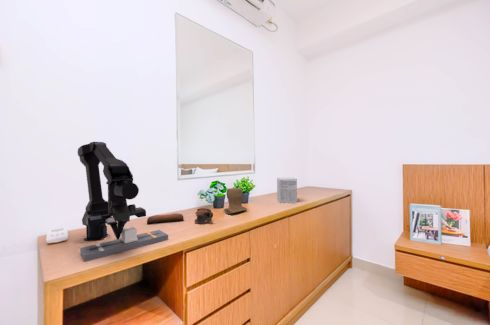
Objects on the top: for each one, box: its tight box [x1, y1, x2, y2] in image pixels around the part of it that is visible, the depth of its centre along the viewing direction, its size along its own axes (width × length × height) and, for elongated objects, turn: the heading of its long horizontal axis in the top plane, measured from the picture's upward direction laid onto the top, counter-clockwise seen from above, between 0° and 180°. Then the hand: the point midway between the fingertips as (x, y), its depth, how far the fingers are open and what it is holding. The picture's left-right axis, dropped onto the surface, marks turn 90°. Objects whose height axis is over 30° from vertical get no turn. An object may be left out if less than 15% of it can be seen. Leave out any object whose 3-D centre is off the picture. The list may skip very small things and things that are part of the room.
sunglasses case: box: [146, 212, 184, 225], centre depth 119 cm, size 18×7×7 cm
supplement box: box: [276, 177, 298, 204], centre depth 171 cm, size 13×13×18 cm
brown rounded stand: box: [223, 187, 248, 215], centre depth 138 cm, size 15×12×15 cm
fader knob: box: [119, 226, 138, 243], centre depth 86 cm, size 4×6×4 cm
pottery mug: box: [194, 207, 214, 225], centre depth 117 cm, size 12×10×8 cm
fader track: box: [79, 229, 169, 262], centre depth 85 cm, size 28×9×2 cm, turn 133°
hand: (117, 238), depth 83 cm, fingers closed
